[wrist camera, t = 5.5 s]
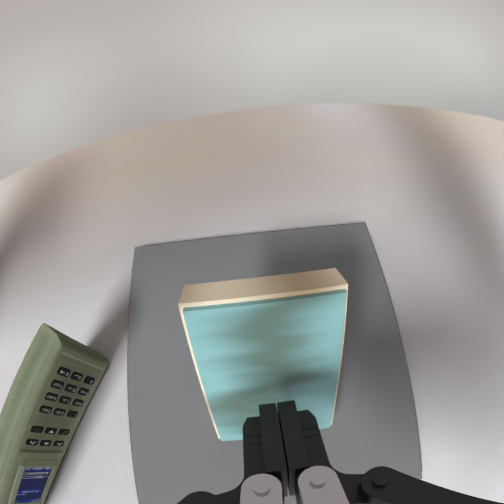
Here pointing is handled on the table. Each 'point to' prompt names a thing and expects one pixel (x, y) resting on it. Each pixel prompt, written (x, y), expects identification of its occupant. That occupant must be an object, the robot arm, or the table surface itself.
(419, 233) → the table surface
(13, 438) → the brick cell phone
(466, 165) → the table surface
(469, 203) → the table surface
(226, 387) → the tile
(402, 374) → the mat
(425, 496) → the robot arm
